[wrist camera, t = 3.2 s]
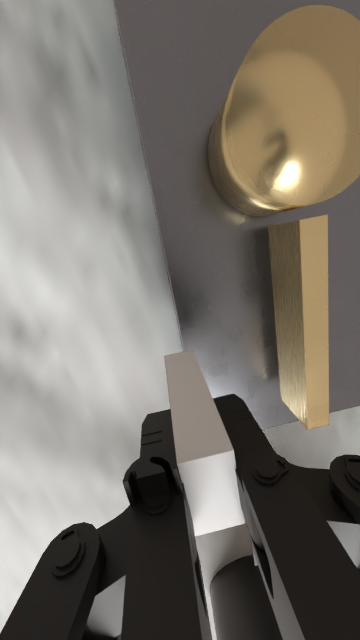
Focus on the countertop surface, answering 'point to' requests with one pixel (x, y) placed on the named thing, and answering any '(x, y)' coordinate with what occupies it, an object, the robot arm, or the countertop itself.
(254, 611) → the water bottle
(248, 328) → the levelling base
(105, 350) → the countertop surface
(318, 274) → the brass ladle
